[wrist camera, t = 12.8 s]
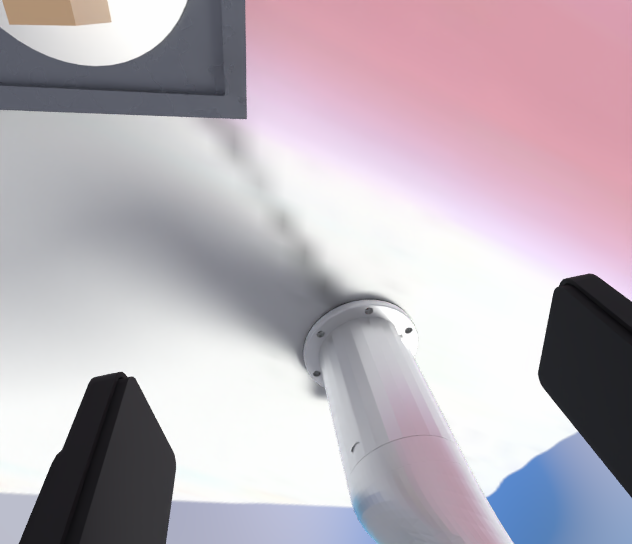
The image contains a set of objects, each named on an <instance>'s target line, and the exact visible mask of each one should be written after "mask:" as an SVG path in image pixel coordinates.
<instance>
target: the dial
mask: <svg viewBox="0 0 632 544" xmlns="http://www.w3.org/2000/svg"><path fill="white" fill-rule="evenodd" d="M187 1H188V0H0V27H1V28H2V29H3V30H5V31H6V32H7V33H9V34H10V35H11V36H13V37H14V38H16V39H17V40H18V41H20V42H22V43H24V44H25V45H27V46H29V47H30V48H32V49H34V50H36V51H38V52H40V53H43V54H45V55H47V56H49V57H52V58H55V59H58V60H61V61H64V62H68V63H73V64H78V65H87V66H106V65H114V64H119V63H124V62H127V61H129V60H132V59H135V58H137V57H139V56H141V55H143V54H145V53H147V52H148V51H150V50H152V49H153V48H154V47H156V46H157V45H158V44H159V43H161V42H162V41H163V40H164V39H165V38H166V37H167V36H168V34H169V33H170V32H171V31H172V30H173V28H174V27H175V25H176V24H177V22H178V21H179V19H180V17H181V15H182V13H183V11H184V9H185V7H186V4H187Z"/></svg>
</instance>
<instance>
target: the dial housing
mask: <svg viewBox="0 0 632 544" xmlns="http://www.w3.org/2000/svg"><path fill="white" fill-rule="evenodd" d="M0 110H22V111H48V112H74V113H100V114H126V115H152V116H178V117H204V118H230V119H247V108H246V34H245V0H188V1H187V4H186V7H185V9H184V11H183V13H182V15H181V17H180V19H179V21H178V22H177V24H176V25H175V27H174V28H173V30H172V31H171V32H170V33H169V34H168V36H167V37H166V38H165V39H164V40H163V41H162V42H161V43H159V44H158V45H157V46H156V47H154V48H153V49H152V50H150V51H148V52H147V53H145V54H143V55H141V56H139V57H137V58H135V59H132V60H129V61H127V62H124V63H119V64H114V65H106V66H87V65H78V64H73V63H68V62H64V61H61V60H58V59H55V58H52V57H49V56H47V55H45V54H43V53H40V52H38V51H36V50H34V49H32V48H30V47H29V46H27V45H25V44H24V43H22V42H20V41H18V40H17V39H16V38H14V37H13V36H11V35H10V34H9V33H7V32H6V31H5V30H3V29H2V28H1V27H0Z"/></svg>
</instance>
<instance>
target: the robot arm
mask: <svg viewBox="0 0 632 544" xmlns="http://www.w3.org/2000/svg"><path fill="white" fill-rule="evenodd" d="M417 346H418V334H417V330H416V328H415V325H414V323H413V322H412V320H411V318H410V317H409V316H408V315H407V314H406V312H405V311H404V310H402V309H401V308H399V307H398V306H396V305H394V304H391V303H389V302H385V301H380V300H359V301H353V302H350V303H347V304H343V305H341V306H339V307H337V308H335V309H333V310H331V311H330V312H328V313H327V314H325V315H324V316H322V317H321V318H320V319H319V320H318V321H317V322H316V323H315V324H314V326H313V327H312V329H311V330H310V331H309V333H308V335H307V338H306V340H305V344H304V349H303V353H304V361H305V366H306V369H307V371H308V373H309V375H310V376H311V377H312V378H313V380H314V381H315V382H317V383H318V384H319V385H321V386H322V387H324V388H325V389H326V394H327V398H328V403H329V407H330V411H331V416H332V420H333V424H334V429H335V433H336V438H337V442H338V446H339V451H340V455H341V459H342V464H343V468H344V473H345V477H346V481H347V486H348V490H349V494H350V498H351V502H352V506H353V509H354V512H355V514H356V515H357V518H358V520H359V522H360V523H361V525H362V527H363V528H364V529H365V531H366V532H367V533H368V534H369V535H370V537H371V538H372V539H373V540H374V541H375V542H376V543H377V544H514V543H513V542H512V540H511V539H510V537H509V536H508V534H507V532H506V531H505V529H504V528H503V526H502V524H501V523H500V521H499V520H498V518H497V516H496V514H495V513H494V511H493V509H492V508H491V506H490V504H489V503H488V501H487V499H486V497H485V495H484V493H483V492H482V490H481V488H480V486H479V484H478V482H477V480H476V478H475V476H474V475H473V473H472V471H471V469H470V467H469V465H468V463H467V461H466V459H465V457H464V455H463V453H462V451H461V449H460V447H459V445H458V443H457V441H456V439H455V437H454V435H453V433H452V431H451V429H450V427H449V425H448V423H447V421H446V419H445V417H444V415H443V413H442V411H441V409H440V407H439V405H438V403H437V401H436V399H435V397H434V395H433V393H432V391H431V389H430V388H429V386H428V384H427V382H426V380H425V378H424V376H423V374H422V372H421V370H420V368H419V366H418V364H417V362H416V360H415V358H414V356H415V354H416V351H417ZM538 376H539V380H540V383H541V385H542V387H543V388H544V389H545V391H546V392H547V393H548V394H549V396H550V397H551V398H552V399H553V401H554V402H555V403H556V404H557V406H558V407H559V408H560V409H561V410H562V412H563V413H564V414H565V415H566V417H567V418H568V419H569V420H570V422H571V423H572V424H573V425H574V427H575V428H576V429H577V430H578V432H579V433H580V434H581V435H582V437H584V439H585V440H586V442H587V443H588V444H589V445H590V446H591V448H592V449H593V450H594V451H595V453H596V454H597V455H598V456H599V458H600V459H601V460H602V461H603V463H604V464H605V465H606V466H607V468H608V469H609V470H610V471H611V472H612V474H613V475H614V476H615V477H616V479H617V480H618V481H619V483H620V484H621V485H622V486H623V487H624V489H625V490H626V491H627V492H628V494H629V495H630V496H631V497H632V302H631V301H630V300H629V299H627V298H626V297H625V296H623V295H622V294H621V293H619V292H618V291H616V290H615V289H614V288H612V287H611V286H610V285H608V284H607V283H606V282H604V281H603V280H602V279H600V278H599V277H598V276H596V275H594V274H585V275H580V276H576V277H571V278H566V279H563V280H562V281H561V282H560V285H559V287H557V288H556V289H555V290H554V293H553V298H552V303H551V308H550V314H549V319H548V324H547V329H546V334H545V339H544V345H543V350H542V355H541V360H540V365H539V371H538ZM175 472H176V461H175V455H174V453H173V451H172V449H171V447H170V445H169V443H168V441H167V439H166V437H165V435H164V433H163V431H162V429H161V427H160V425H159V423H158V421H157V420H156V418H155V416H154V414H153V412H152V410H151V408H150V406H149V404H148V402H147V400H146V398H145V396H144V394H143V392H142V390H141V389H140V387H139V385H138V383H137V381H136V379H135V378H134V377H127V376H126V375H125V374H124V373H123V372H117V373H113V374H108V375H103V376H98V377H94V378H92V379H91V381H90V382H89V384H88V387H87V389H86V392H85V394H84V397H83V399H82V402H81V404H80V407H79V409H78V412H77V414H76V417H75V419H74V422H73V424H72V427H71V429H70V432H69V434H68V437H67V439H66V442H65V444H64V447H63V449H62V450H61V451H60V452H59V453H58V454H57V455H56V457H55V459H54V461H53V462H52V464H51V467H50V469H49V472H48V474H47V477H46V479H45V481H44V484H43V486H42V489H41V491H40V494H39V496H38V498H37V501H36V504H35V506H34V508H33V511H32V513H31V515H30V518H29V521H28V523H27V525H26V528H25V530H24V532H23V535H22V538H21V540H20V542H19V544H166V538H167V531H168V523H169V515H170V509H171V501H172V494H173V487H174V479H175Z"/></svg>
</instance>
